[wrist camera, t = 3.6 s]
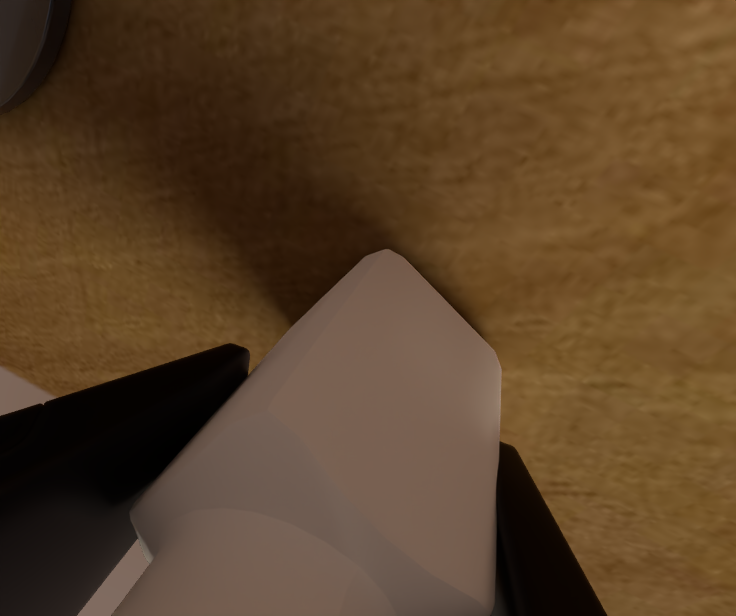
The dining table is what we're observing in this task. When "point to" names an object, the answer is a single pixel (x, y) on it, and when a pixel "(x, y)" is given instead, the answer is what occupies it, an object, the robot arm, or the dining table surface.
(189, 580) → the salt shaker
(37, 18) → the coaster
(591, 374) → the dining table surface
